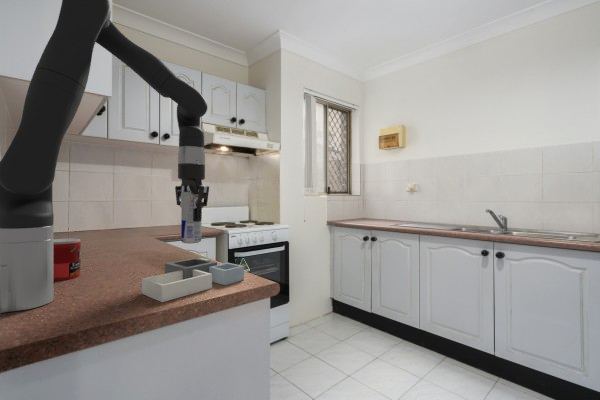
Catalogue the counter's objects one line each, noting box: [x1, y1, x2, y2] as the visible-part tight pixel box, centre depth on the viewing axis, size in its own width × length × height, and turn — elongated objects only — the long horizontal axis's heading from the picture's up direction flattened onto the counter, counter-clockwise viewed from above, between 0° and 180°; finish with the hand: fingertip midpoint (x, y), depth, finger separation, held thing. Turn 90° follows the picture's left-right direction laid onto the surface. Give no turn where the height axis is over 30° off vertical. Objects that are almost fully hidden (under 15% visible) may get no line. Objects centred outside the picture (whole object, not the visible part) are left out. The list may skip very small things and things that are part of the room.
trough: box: [141, 269, 213, 303], centre depth 77 cm, size 14×10×4 cm
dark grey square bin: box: [164, 257, 218, 280], centre depth 89 cm, size 10×10×5 cm
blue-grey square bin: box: [209, 262, 245, 286], centre depth 87 cm, size 7×7×4 cm
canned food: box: [53, 237, 82, 282], centre depth 88 cm, size 8×8×11 cm
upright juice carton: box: [180, 192, 203, 244], centre depth 89 cm, size 6×6×15 cm
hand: (191, 220), depth 89 cm, fingers closed on upright juice carton, 5 cm apart
